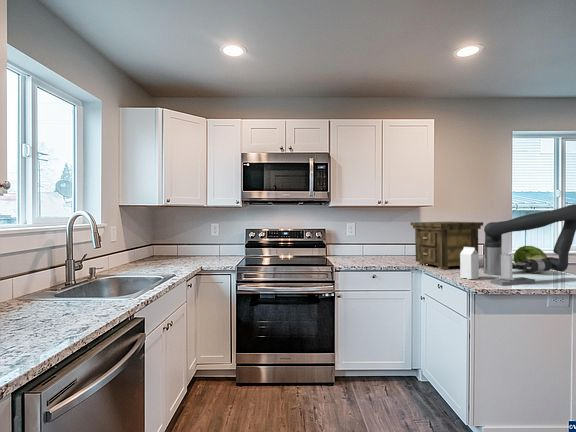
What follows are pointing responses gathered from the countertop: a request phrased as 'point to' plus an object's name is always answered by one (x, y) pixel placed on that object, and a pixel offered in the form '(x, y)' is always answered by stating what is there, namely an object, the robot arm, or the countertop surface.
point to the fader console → (512, 281)
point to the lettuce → (528, 254)
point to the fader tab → (506, 267)
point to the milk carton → (469, 263)
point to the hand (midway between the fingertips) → (507, 267)
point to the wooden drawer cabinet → (444, 241)
